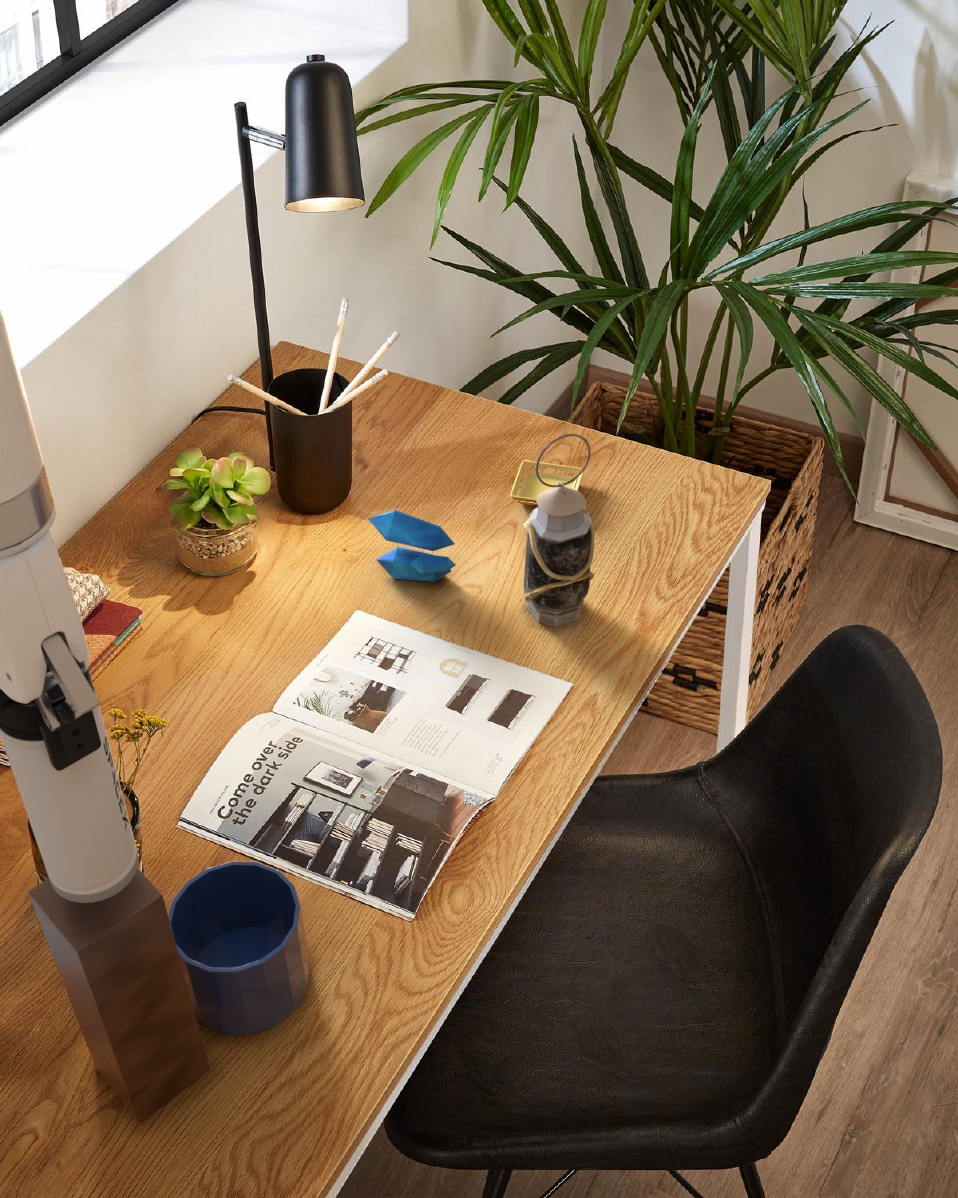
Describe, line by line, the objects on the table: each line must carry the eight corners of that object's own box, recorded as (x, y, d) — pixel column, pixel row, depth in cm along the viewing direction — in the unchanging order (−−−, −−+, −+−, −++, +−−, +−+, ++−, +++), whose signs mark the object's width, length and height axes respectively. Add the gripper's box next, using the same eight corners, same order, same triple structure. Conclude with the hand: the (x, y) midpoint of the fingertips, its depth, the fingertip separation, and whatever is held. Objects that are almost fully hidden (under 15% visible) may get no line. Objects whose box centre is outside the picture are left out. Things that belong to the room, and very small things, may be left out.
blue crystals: (459, 554, 151) (362, 525, 150) (444, 605, 157) (350, 578, 156) (470, 516, 156) (376, 489, 156) (455, 567, 162) (364, 541, 162)
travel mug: (27, 880, 90) (-46, 679, 77) (97, 821, 95) (40, 620, 82) (88, 923, 88) (23, 722, 75) (157, 860, 92) (108, 659, 79)
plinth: (139, 1124, 105) (76, 951, 89) (95, 1067, 109) (27, 891, 93) (210, 1070, 109) (162, 894, 92) (164, 1016, 113) (111, 838, 96)
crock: (232, 1060, 109) (216, 997, 103) (160, 977, 116) (141, 912, 109) (334, 981, 115) (325, 916, 109) (261, 906, 121) (248, 840, 115)
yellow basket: (584, 480, 174) (584, 467, 172) (573, 517, 167) (573, 504, 166) (522, 471, 175) (522, 459, 174) (508, 508, 169) (509, 495, 168)
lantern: (571, 579, 158) (582, 407, 141) (603, 618, 152) (619, 444, 136) (508, 599, 155) (512, 426, 139) (539, 639, 150) (547, 464, 133)
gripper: (-153, 462, 73) (-68, 686, 84) (-8, 607, 63) (65, 837, 75) (-31, 414, 77) (35, 634, 88) (123, 543, 67) (174, 771, 79)
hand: (48, 725), depth 81 cm, fingers closed on travel mug, 6 cm apart
